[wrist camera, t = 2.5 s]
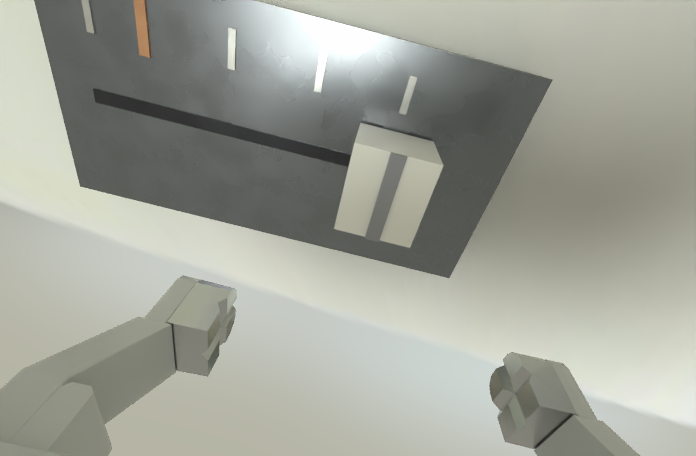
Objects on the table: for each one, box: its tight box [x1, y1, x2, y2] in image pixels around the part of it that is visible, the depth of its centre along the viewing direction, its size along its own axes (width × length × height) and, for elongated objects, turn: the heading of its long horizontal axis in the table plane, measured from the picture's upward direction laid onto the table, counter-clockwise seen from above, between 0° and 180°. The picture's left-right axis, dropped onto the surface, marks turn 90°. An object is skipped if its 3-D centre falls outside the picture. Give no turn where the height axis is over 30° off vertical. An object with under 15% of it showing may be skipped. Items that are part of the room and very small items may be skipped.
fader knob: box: [334, 123, 444, 248], centre depth 18 cm, size 4×5×4 cm
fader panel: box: [34, 0, 552, 278], centre depth 21 cm, size 28×14×3 cm, turn 77°
